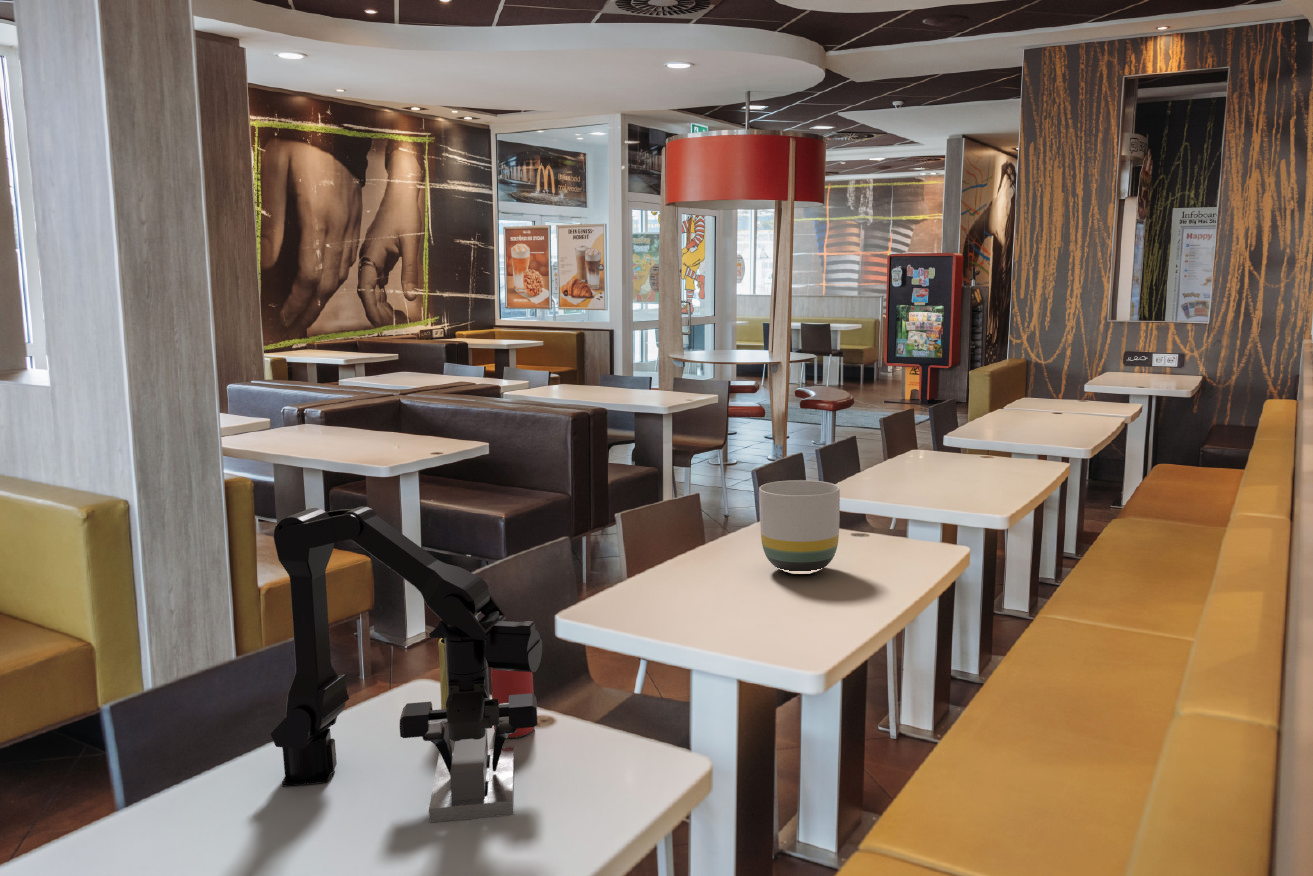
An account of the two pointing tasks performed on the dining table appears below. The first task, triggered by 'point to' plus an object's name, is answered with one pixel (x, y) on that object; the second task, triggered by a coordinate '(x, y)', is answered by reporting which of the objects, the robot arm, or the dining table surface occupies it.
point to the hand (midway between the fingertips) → (473, 772)
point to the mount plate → (490, 806)
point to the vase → (443, 673)
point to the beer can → (511, 690)
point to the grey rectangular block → (469, 769)
